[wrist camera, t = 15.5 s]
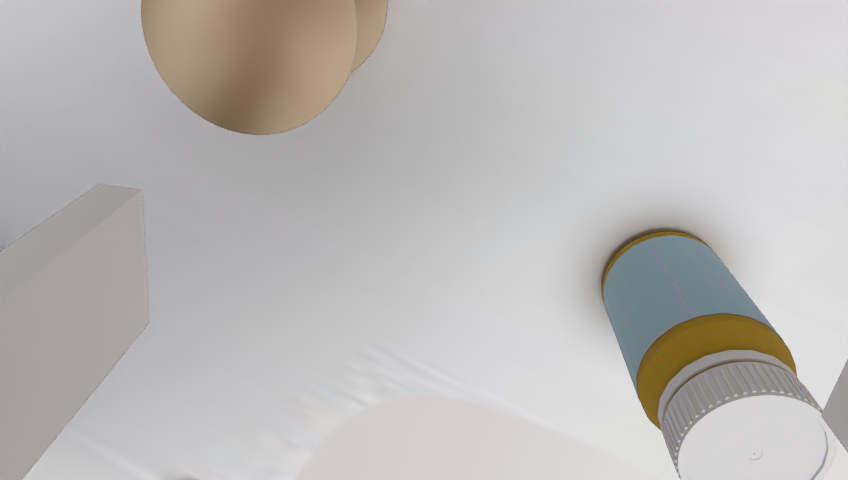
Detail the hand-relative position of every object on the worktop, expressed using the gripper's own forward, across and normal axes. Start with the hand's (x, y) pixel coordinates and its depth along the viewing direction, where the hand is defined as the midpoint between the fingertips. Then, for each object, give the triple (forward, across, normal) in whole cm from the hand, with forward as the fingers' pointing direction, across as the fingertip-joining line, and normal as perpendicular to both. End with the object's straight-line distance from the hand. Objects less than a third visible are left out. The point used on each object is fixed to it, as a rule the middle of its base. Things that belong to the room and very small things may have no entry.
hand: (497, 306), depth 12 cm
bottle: (+26, +13, -11) cm, 31 cm away
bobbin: (+26, -9, +2) cm, 27 cm away
